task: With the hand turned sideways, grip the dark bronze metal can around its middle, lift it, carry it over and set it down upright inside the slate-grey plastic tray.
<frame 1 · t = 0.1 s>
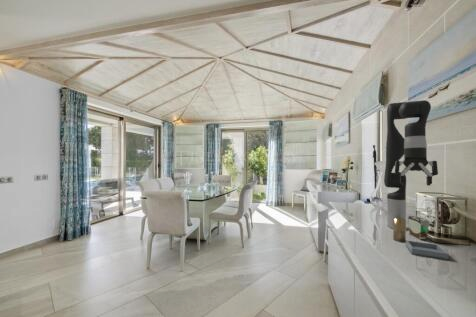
hand: (415, 184, 94), 29 cm above the sideboard, tool pointing down, fingers open, 8 cm apart
bronze can: (399, 240, 110), on the sideboard
tray: (425, 252, 95), on the sideboard
food container: (421, 238, 114), on the sideboard
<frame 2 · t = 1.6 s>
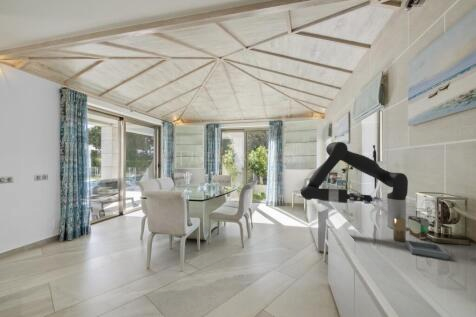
hand: (371, 198, 116), 20 cm above the sideboard, tool horizontal, fingers open, 8 cm apart
nothing on the sideboard moved.
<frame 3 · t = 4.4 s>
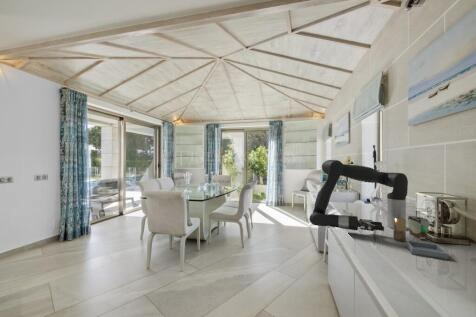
hand: (382, 226, 113), 6 cm above the sideboard, tool horizontal, fingers open, 8 cm apart
nothing on the sideboard moved.
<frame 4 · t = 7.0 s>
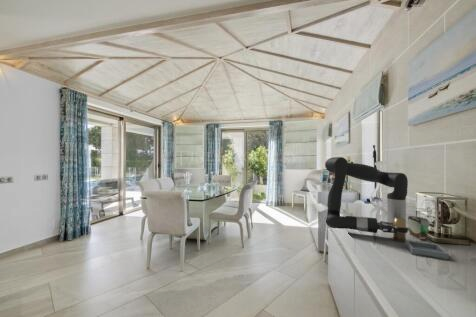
hand: (405, 229, 109), 6 cm above the sideboard, tool horizontal, fingers closed on bronze can, 5 cm apart
bronze can: (399, 240, 110), on the sideboard, touching gripper
everything else where it was.
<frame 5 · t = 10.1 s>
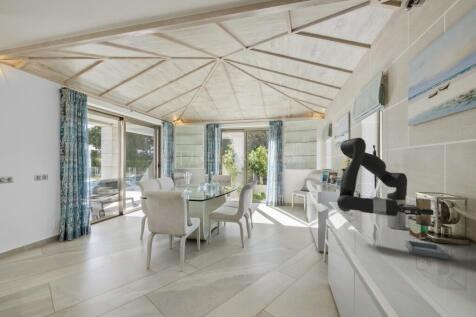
hand: (431, 211, 95), 18 cm above the sideboard, tool horizontal, fingers closed on bronze can, 5 cm apart
bronze can: (423, 224, 96), point 12 cm above the sideboard, touching gripper
everything else where it was.
when the fingers open (8 cm above the sideboard, at t = 13.0 s): bronze can drops 1 cm, resting on tray.
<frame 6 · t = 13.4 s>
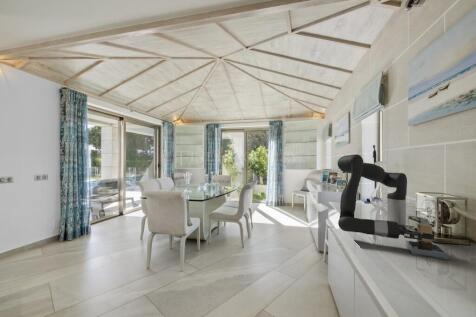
hand: (430, 234, 94), 8 cm above the sideboard, tool horizontal, fingers open, 8 cm apart
bronze can: (424, 250, 95), point 1 cm above the sideboard, touching tray
everything else where it was.
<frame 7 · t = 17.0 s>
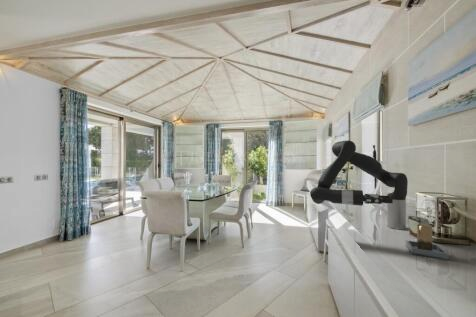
hand: (390, 199, 103), 21 cm above the sideboard, tool horizontal, fingers open, 8 cm apart
nothing on the sideboard moved.
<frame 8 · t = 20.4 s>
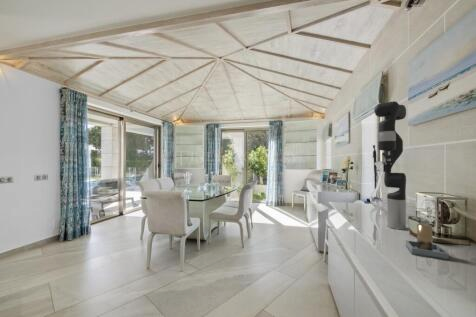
hand: (387, 172, 113), 34 cm above the sideboard, tool pointing down, fingers open, 8 cm apart
nothing on the sideboard moved.
at the end: bronze can 0.1 cm off-centre on the tray, point 0.6 cm above the tray's base; bronze can tilted 0°; the gripper is holding nothing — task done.
